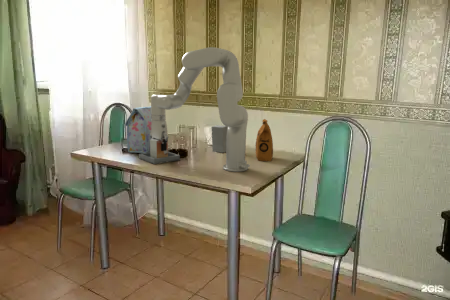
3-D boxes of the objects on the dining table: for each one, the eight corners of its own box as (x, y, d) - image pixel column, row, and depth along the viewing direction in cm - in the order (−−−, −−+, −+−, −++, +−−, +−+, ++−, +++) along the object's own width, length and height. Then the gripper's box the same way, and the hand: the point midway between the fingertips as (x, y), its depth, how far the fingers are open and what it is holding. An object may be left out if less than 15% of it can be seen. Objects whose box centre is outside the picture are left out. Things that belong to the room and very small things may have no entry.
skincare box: (228, 151, 219) (229, 125, 216) (222, 153, 213) (223, 127, 210) (217, 149, 223) (217, 124, 220) (210, 151, 217) (211, 125, 214)
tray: (179, 159, 195) (179, 155, 194) (153, 164, 184) (153, 159, 184) (164, 154, 206) (164, 150, 206) (139, 158, 196) (138, 153, 196)
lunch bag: (143, 145, 232) (142, 104, 226) (167, 147, 226) (166, 105, 221) (123, 152, 211) (121, 107, 205) (148, 154, 205) (147, 108, 200)
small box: (156, 160, 191) (156, 140, 188) (150, 158, 194) (149, 139, 192) (168, 157, 197) (168, 139, 194) (161, 156, 200) (161, 137, 198)
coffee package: (254, 161, 195) (255, 121, 191) (255, 156, 207) (257, 118, 203) (272, 162, 194) (274, 121, 189) (272, 157, 206) (274, 119, 201)
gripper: (173, 119, 187) (173, 151, 190) (156, 115, 199) (157, 145, 203) (160, 120, 182) (161, 152, 185) (144, 116, 195) (145, 147, 198)
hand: (159, 149), depth 194 cm, fingers open, 9 cm apart
